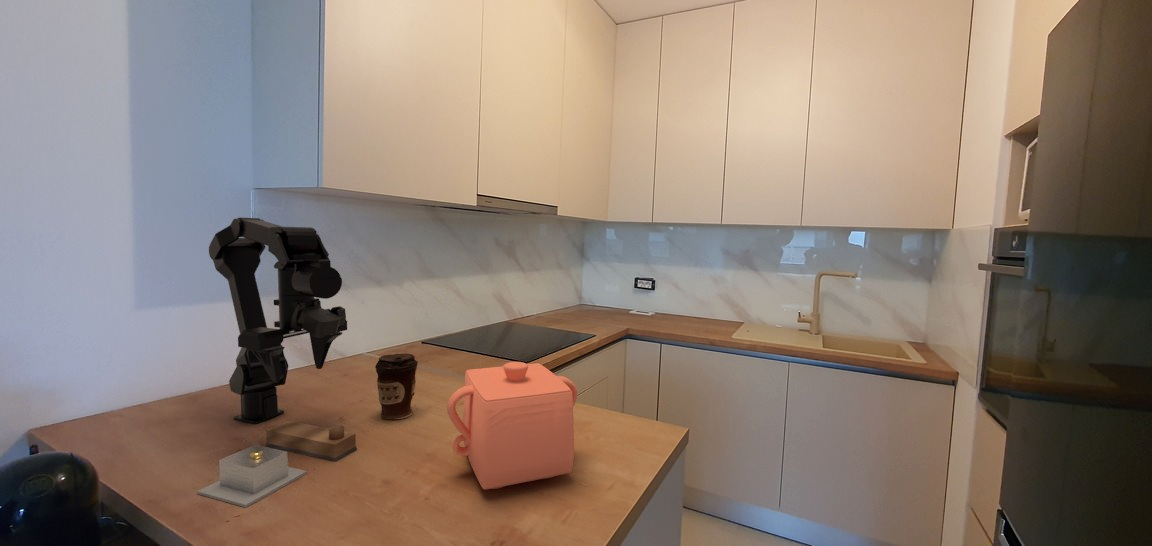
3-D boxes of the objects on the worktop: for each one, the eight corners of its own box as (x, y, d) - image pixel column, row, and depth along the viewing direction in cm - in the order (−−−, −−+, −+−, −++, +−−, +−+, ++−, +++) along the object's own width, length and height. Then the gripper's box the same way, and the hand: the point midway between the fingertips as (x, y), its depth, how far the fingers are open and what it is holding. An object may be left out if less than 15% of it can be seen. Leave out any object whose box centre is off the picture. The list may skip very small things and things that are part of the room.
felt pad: (197, 493, 68) (197, 491, 68) (261, 462, 78) (261, 460, 77) (245, 507, 65) (245, 504, 65) (307, 473, 74) (307, 471, 74)
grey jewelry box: (220, 485, 70) (218, 456, 69) (256, 468, 75) (255, 441, 75) (253, 494, 67) (252, 464, 67) (288, 475, 73) (287, 448, 72)
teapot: (435, 437, 89) (435, 347, 87) (545, 421, 98) (546, 339, 96) (455, 508, 66) (455, 387, 65) (596, 479, 75) (599, 372, 73)
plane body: (265, 445, 84) (264, 421, 83) (288, 435, 88) (287, 412, 88) (336, 461, 78) (335, 435, 78) (356, 449, 83) (356, 425, 82)
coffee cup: (402, 425, 94) (402, 363, 93) (366, 421, 96) (365, 360, 95) (424, 409, 102) (424, 352, 101) (391, 406, 104) (390, 350, 103)
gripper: (283, 303, 74) (285, 396, 76) (368, 291, 92) (369, 367, 93) (234, 298, 78) (237, 388, 79) (325, 288, 95) (326, 361, 97)
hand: (298, 375), depth 87 cm, fingers open, 9 cm apart
